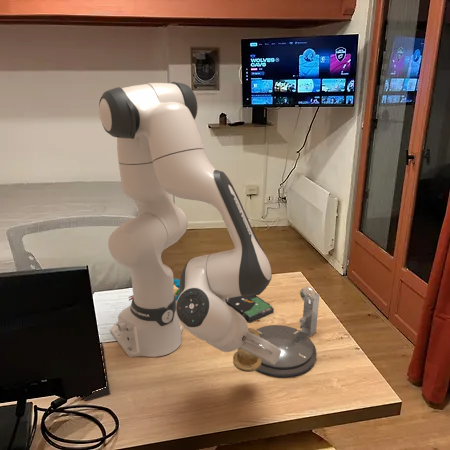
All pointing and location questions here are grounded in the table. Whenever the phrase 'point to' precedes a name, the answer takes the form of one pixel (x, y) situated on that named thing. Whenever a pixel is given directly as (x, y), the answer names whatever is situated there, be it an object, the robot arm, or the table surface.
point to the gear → (177, 284)
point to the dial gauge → (309, 310)
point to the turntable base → (290, 372)
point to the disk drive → (250, 307)
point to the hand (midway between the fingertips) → (249, 345)
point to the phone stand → (106, 390)
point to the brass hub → (247, 358)
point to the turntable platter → (287, 346)
